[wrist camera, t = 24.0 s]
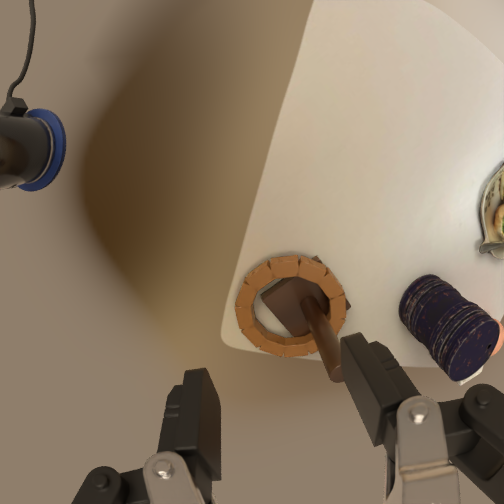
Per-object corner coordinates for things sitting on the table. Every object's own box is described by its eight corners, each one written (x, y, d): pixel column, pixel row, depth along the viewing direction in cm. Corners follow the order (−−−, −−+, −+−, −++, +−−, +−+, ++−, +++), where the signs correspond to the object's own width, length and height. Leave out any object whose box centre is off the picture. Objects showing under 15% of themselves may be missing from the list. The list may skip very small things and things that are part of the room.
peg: (260, 294, 39) (276, 373, 24) (316, 255, 37) (363, 316, 23) (296, 336, 41) (322, 416, 27) (347, 301, 40) (395, 370, 25)
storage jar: (394, 332, 43) (439, 391, 29) (401, 279, 40) (460, 331, 26) (439, 320, 43) (487, 368, 29) (448, 269, 40) (508, 311, 26)
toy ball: (458, 339, 46) (480, 361, 38) (478, 307, 43) (502, 326, 36) (475, 345, 47) (494, 365, 39) (493, 315, 45) (515, 333, 37)
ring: (217, 296, 39) (213, 303, 37) (302, 233, 35) (303, 238, 33) (280, 362, 41) (280, 371, 39) (362, 313, 37) (365, 321, 35)
